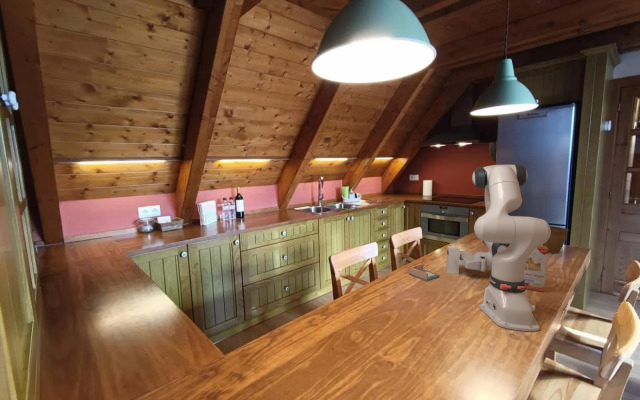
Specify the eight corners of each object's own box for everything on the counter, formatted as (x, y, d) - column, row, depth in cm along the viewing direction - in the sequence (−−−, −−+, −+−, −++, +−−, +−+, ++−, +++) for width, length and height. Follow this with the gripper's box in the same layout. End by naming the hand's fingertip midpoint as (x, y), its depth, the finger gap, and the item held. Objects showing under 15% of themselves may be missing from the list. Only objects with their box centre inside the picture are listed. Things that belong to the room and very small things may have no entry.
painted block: (458, 274, 160) (460, 248, 158) (447, 273, 161) (448, 248, 160) (456, 271, 164) (458, 246, 162) (445, 270, 166) (447, 245, 164)
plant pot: (571, 254, 191) (574, 229, 189) (553, 256, 188) (555, 231, 186) (549, 247, 205) (551, 225, 203) (531, 249, 202) (533, 226, 200)
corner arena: (439, 277, 156) (439, 269, 156) (426, 281, 151) (426, 274, 150) (421, 270, 166) (422, 263, 165) (408, 274, 160) (409, 267, 160)
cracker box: (508, 287, 143) (512, 244, 141) (507, 282, 149) (511, 241, 146) (544, 292, 137) (549, 248, 134) (542, 287, 142) (546, 245, 139)
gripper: (474, 248, 168) (448, 247, 172) (486, 260, 149) (456, 258, 152) (474, 259, 169) (448, 258, 172) (485, 272, 150) (455, 270, 153)
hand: (452, 258), depth 162 cm, fingers open, 8 cm apart
